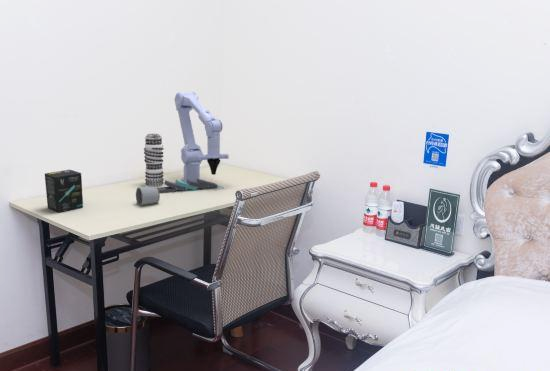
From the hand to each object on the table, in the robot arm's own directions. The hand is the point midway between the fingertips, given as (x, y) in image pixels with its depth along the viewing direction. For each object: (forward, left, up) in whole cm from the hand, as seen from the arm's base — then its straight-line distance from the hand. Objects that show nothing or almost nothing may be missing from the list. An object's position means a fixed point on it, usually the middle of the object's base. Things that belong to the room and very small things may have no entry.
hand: (213, 174), depth 248 cm
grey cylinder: (+15, -35, -7) cm, 39 cm away
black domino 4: (0, +1, -6) cm, 6 cm away
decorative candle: (-13, -25, -7) cm, 29 cm away
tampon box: (+11, -67, -7) cm, 68 cm away
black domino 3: (0, -4, -6) cm, 7 cm away
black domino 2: (0, -14, -6) cm, 15 cm away
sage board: (0, -8, -7) cm, 11 cm away
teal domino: (0, -9, -6) cm, 11 cm away
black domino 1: (0, -19, -6) cm, 20 cm away
